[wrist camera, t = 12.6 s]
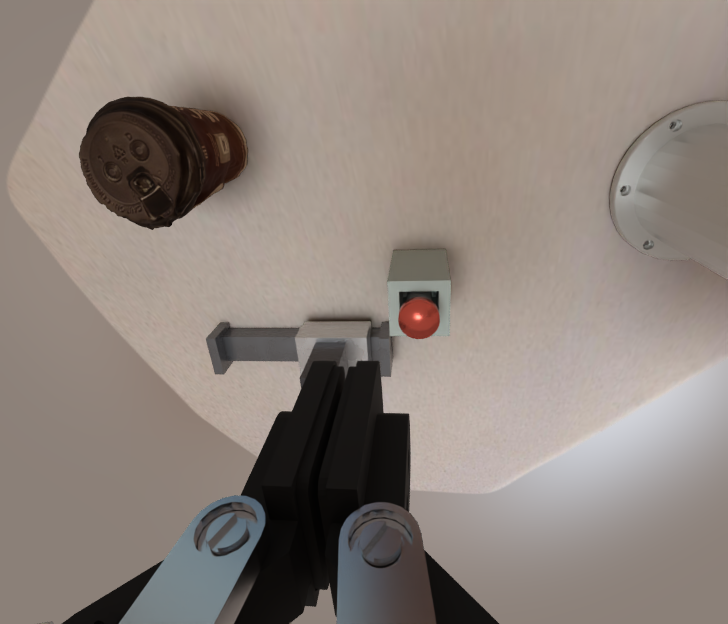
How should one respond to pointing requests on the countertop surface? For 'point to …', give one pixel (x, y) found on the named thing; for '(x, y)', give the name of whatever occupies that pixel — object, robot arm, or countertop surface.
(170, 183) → the coffee cup
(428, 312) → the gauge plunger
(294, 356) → the rail
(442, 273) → the grey square housing
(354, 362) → the carriage
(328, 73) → the countertop surface
